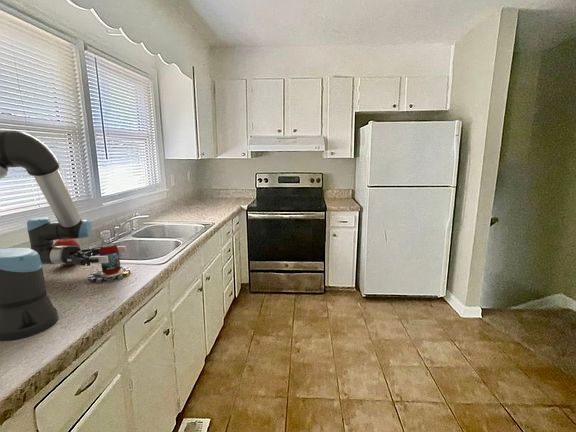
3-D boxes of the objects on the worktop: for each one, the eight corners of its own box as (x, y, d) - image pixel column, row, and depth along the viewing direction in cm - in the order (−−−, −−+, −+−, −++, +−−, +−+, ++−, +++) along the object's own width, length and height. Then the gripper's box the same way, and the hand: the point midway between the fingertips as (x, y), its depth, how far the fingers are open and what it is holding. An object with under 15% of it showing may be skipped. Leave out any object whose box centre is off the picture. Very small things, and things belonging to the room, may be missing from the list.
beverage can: (102, 276, 128) (98, 248, 126) (102, 271, 134) (98, 244, 132) (121, 273, 132) (117, 245, 129) (120, 268, 137) (117, 241, 135)
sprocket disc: (80, 283, 126) (79, 279, 126) (103, 269, 141) (102, 266, 141) (118, 283, 126) (117, 279, 125) (136, 269, 140) (136, 265, 140)
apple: (56, 270, 141) (51, 240, 139) (54, 265, 149) (49, 236, 146) (84, 265, 148) (79, 236, 145) (80, 260, 155) (75, 232, 153)
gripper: (87, 254, 145) (133, 253, 144) (45, 274, 120) (100, 273, 120) (85, 238, 143) (131, 237, 143) (41, 255, 119) (97, 254, 118)
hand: (117, 254), depth 131 cm, fingers open, 13 cm apart
